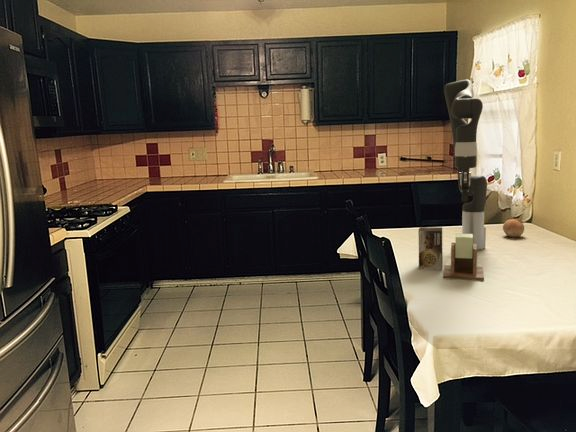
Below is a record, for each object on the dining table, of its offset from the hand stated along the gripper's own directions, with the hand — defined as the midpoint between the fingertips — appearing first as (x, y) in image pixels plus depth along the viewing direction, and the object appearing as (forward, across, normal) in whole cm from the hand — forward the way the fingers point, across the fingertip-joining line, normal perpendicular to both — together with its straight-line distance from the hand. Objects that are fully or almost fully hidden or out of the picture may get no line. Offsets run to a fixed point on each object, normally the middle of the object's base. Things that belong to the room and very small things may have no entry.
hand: (464, 201), depth 177 cm
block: (+21, 0, 0) cm, 21 cm away
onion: (+28, -65, +24) cm, 75 cm away
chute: (+28, 0, 0) cm, 28 cm away
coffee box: (+28, -6, -12) cm, 31 cm away
